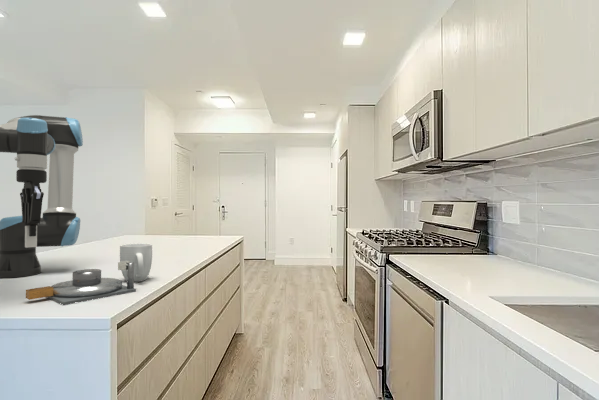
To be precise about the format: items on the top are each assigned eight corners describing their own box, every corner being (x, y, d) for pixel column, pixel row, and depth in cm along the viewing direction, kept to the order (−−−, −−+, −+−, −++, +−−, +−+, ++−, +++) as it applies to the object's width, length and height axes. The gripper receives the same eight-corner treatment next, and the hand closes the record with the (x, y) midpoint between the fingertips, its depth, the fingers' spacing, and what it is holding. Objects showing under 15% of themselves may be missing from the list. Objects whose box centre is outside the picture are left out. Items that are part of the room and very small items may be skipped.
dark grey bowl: (68, 284, 119) (68, 271, 119) (94, 280, 125) (94, 268, 125) (79, 287, 114) (79, 274, 114) (105, 283, 121) (105, 270, 121)
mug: (157, 283, 133) (157, 246, 133) (123, 286, 127) (124, 248, 127) (148, 276, 146) (148, 242, 146) (117, 279, 140) (117, 244, 140)
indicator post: (113, 290, 121) (114, 261, 121) (127, 288, 125) (128, 260, 125) (120, 293, 119) (121, 263, 119) (135, 290, 122) (135, 261, 122)
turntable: (16, 293, 113) (16, 285, 113) (105, 279, 133) (105, 272, 133) (39, 305, 100) (40, 296, 100) (133, 288, 121) (133, 280, 121)
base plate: (37, 293, 117) (37, 290, 117) (105, 282, 134) (105, 280, 134) (63, 305, 104) (63, 302, 104) (135, 291, 121) (135, 288, 121)
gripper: (10, 169, 115) (9, 246, 115) (24, 167, 107) (23, 249, 107) (38, 171, 121) (37, 244, 121) (53, 169, 113) (53, 247, 113)
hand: (30, 246), depth 114 cm, fingers closed
